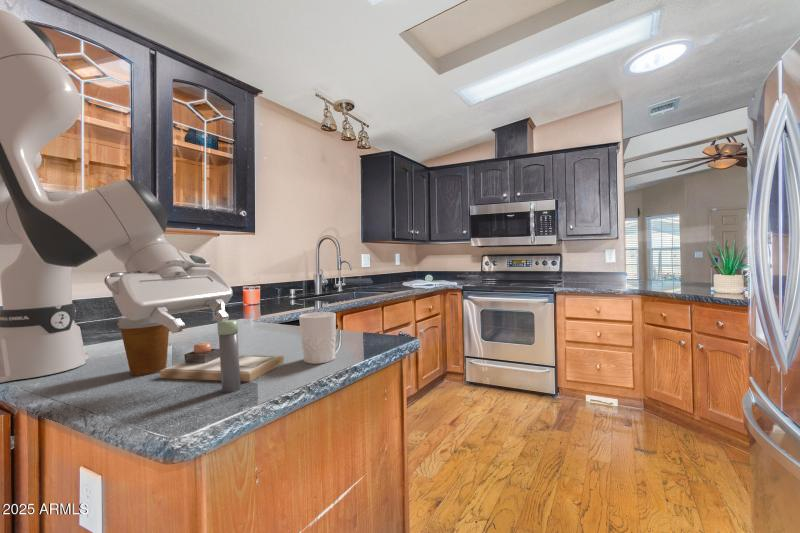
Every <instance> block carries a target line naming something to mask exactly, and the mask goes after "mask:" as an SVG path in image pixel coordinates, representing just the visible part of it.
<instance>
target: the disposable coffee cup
mask: <svg viewBox="0 0 800 533" xmlns="http://www.w3.org/2000/svg"><path fill="white" fill-rule="evenodd" d="M117 326H118V328H119V329H120V332H121V337H122V343H123V346H124V351H125V355H126V359H127V365H128V367H129V373H130V375H131V376H147V375H152V374H157V373H160V370H163V369H165V368H167V361H168V347H169V346H168V345H169V334H170V333H169V332H170V330H169V329H168V328H167V327H165V326H163V325H161V324H159V323H157V322H155V321H154V320H153V318H146V319H140V320H134V321H133V320H130V319H127V318H125V317H124V316H123V315H122V316H119V319H118V322H117Z"/></svg>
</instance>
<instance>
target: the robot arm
mask: <svg viewBox="0 0 800 533" xmlns="http://www.w3.org/2000/svg"><path fill="white" fill-rule="evenodd" d="M58 57H59V56H58V54H57V50H56V48H55V46H54V44H53V42H52V40H51V39H50V37H49V36H48V35H47V34H46V33H45V32H44V31H43V30H42V28H40V27H39V26H37V25H35V24H32V23H30V22H27V21H24V20H21V19H20V18H18V17H17V16H15V15H14V14H12V13H10V12H7V11H5V10H2V9H0V245H4V246H8V245H9V246H11V245H21V248H20V251H19V254H18V255H17V257H16V258H15V261H13V262H12V263H11V264H9V265H7V266H6V267H5V268H4V269H3V270H2V271H1V273H0V290H1V291H0V292H1V301H2V304H1V305H2V309H0V384H1V383H6V382H11V381H17V380H24V379H32V378H38V377H39V378H40V377H44V376H48V375H53V374H58V373H62V372H65V371H69V370H72V369H75V368H78V367H81V366H83V365H84V364H86V363H87V360H88V359H90V354H89V353H85V352H86V351H85V348H84V342H83V338H82V337H83V336H82V332H81V327H80V326H79V325H78V324H76V322H75V319H76V318H77V314H76V313H77V309H76V305H75V303H73V293H72V292H73V291H72V272H73V271H72V270H73V268H78V267H79V266H82V265H83V264H85V263H87V262H88V261H89V262H90V261H91V260H93V259H95V258H97V257H99V255H101V254H103V253H106V252H108V251H110V252H111V253H112V254H113V256H114V257H115V258H116V259H117V260H118V261H120V262H121V263H123V266H124V270H125V271H126V272H119V271H117V272H111V273H110V274H108V275H107V276H105V277H104V280H103V281H104V282H103V283H104V285H105V286H106V288H107V289H108V290H109V291H110V292H111V294H112V295H111V296H112V297H113V301H114V302H115V305H116V306H117V308H118V310H119V312H120V313H121V315H122V316H124V317H125V318H127V319H130V320H133V321H134V320H140V319H146V318H153V320H154V321H155V322H157V323H159V324H161V325H163V326H165V327H167V328H168V329H169V332H170V333H171V334H177V333H182V332H183V331H184V330H183V329H185V328H186V324H185V323H184V322H183V319H181V318H179V317H178V318H176V317H174V316H172V315H175V314H181V313H189V312H194V311H199V310H200V311H201V310H206V309H210V310H211V311H213V312H214V311H215V314H216V315H214V317H213V318H214V320H215V321H216V322H220V321H225V320H230V316H229V313H228V312H226V308H225V306H226V305H227V304H228V303H229V301H230V300H231V298H232V297H233V295H234V294H233V292H234V291H233V288H232V287H231V286H230V284H229V283H228V282H227V280H225V278H224V277H223V276H222V275H221V274H220V273H219V272H218V271H217V270H215V269H214V268H211V267H210V266H211V262H210V260H209V259H208V258H206V257H203V256H199V255H198V256H197V255H194V254H191V253H188V252H185V251H184V250H180V249H177V248H176V247H175V246H174V245H173V244H172V243H170V242H169V241H167V239H166V237H165V233H166V229H167V225H168V215H167V212H166V210H165V207H164V206H163V205H162V203H161V202H160V201H159V199H157V197H156V196H155V195H154V194H153V193H152V191H151V190H150V189H149V188H148V186H147V185H144V184H142V183H140V182H139V181H135V180H133V179H128V178H125V179H120V180H117V181H114V182H110V183H107V184H105V185H104V184H103V185H101V186H98V187H96V188H95V187H94V189H91V190H89V191H85V192H82V193H80V194H73V193H68V192H61V191H54V192H53V191H49V192H48V191H47V192H46V191H45V189H44V187H43V184H42V182H41V180H40V176H38V173H37V170H38V169H39V168H40V166H41V164H42V162H43V158H42V154H41V152H40V151H41V150H42V149H43V148H44V147H45V146H48V144H50V143H51V142H52V141H54V140H55V139H56V138H58V137H59V136H61V135H63V134H64V133H66V132H67V131H69V130H70V129H71V128H72V126H74V124H75V123H76V122H77V120H78V118H80V114H81V111H82V97H81V95H80V93H79V90H78V88H77V87H76V85H75V83H74V81H73V80H72V78H71V76H70V75H69V74H68V72H67V70H66V69H65V68H64V66H63V65H62V64H61V62H60V61H59V58H58Z"/></svg>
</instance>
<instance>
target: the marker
mask: <svg viewBox="0 0 800 533" xmlns="http://www.w3.org/2000/svg"><path fill="white" fill-rule="evenodd" d="M216 322H217V321H216ZM238 323H239V322H238V320H237V319H228V320H225V321H220V322H217V323H216V324H217V335H218V344H219V346H218V347H219V348H218V349H220V366H221V380H220V382H221V391H222V393H233V392H237V391H239V390H241V388H242V387H241V381H240V367H239V355H240V354H239V335H238V333H239V324H238Z"/></svg>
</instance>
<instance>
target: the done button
mask: <svg viewBox="0 0 800 533" xmlns="http://www.w3.org/2000/svg"><path fill="white" fill-rule="evenodd" d="M211 349H212V343H211V342H201V343H196V344H194V345H193V351H194V354H206V353H208V352H211Z"/></svg>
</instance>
